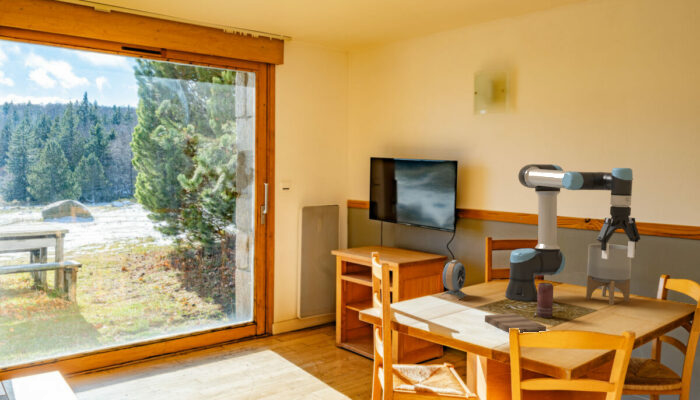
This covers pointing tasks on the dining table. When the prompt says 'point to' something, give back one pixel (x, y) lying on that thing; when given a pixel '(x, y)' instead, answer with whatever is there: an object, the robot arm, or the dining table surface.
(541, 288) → the can
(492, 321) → the board
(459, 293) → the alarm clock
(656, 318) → the dining table surface
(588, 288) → the planter
